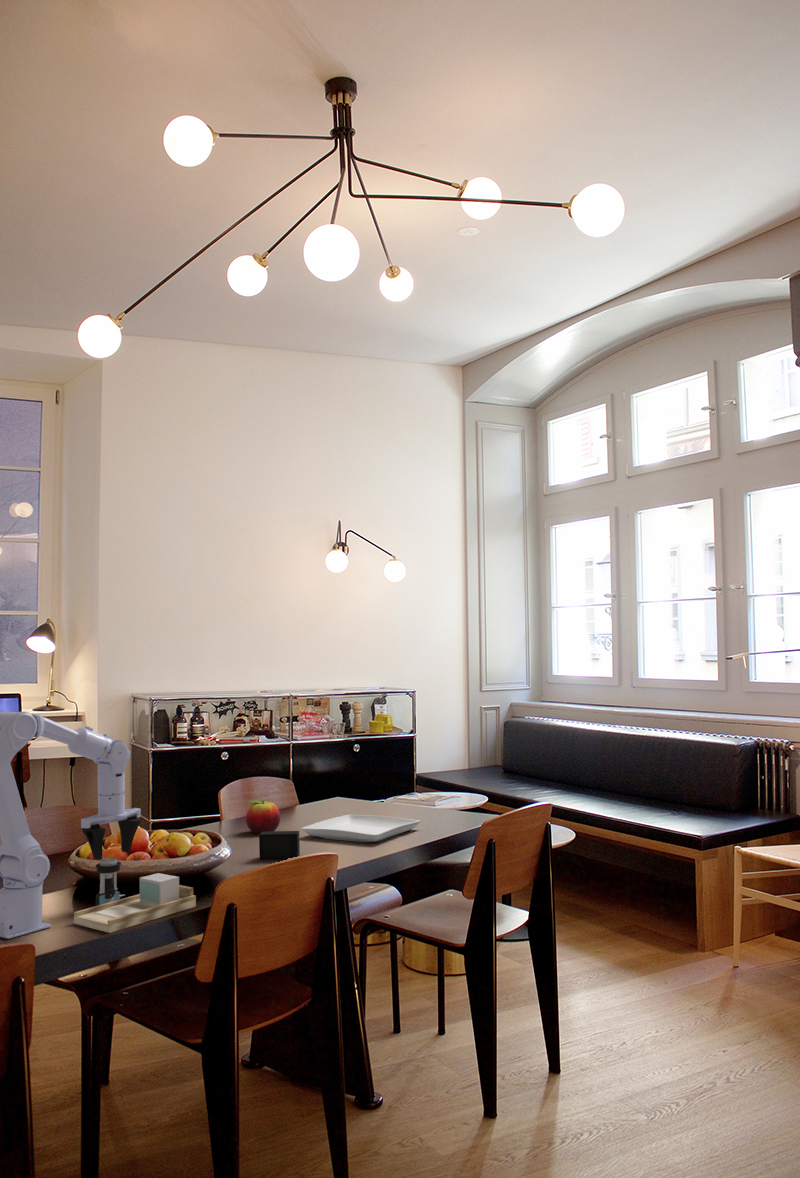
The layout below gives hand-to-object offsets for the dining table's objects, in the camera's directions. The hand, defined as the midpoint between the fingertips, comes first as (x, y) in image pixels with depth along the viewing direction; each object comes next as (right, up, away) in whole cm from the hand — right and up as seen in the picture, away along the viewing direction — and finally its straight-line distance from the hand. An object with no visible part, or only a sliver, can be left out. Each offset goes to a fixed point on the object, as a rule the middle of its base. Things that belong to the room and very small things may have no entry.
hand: (112, 855), depth 196 cm
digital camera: (+32, -14, +43) cm, 55 cm away
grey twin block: (+12, -9, -4) cm, 15 cm away
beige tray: (+8, -10, -9) cm, 16 cm away
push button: (0, -11, -1) cm, 11 cm away
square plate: (+52, -16, +73) cm, 91 cm away
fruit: (+21, -17, +80) cm, 84 cm away
